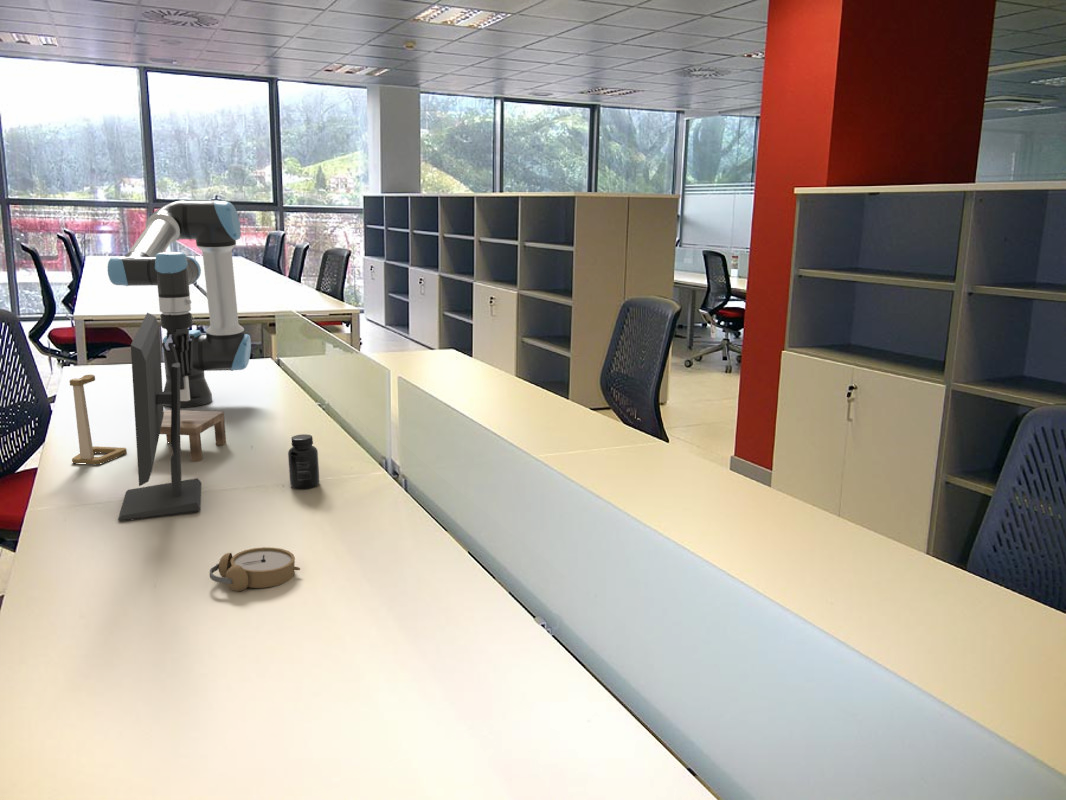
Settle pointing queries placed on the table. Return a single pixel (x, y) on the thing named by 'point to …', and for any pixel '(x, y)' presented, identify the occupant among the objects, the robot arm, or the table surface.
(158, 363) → the computer monitor
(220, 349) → the robot arm
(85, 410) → the headphone stand
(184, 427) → the stool
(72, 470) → the table surface
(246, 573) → the alarm clock
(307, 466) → the supplement bottle
